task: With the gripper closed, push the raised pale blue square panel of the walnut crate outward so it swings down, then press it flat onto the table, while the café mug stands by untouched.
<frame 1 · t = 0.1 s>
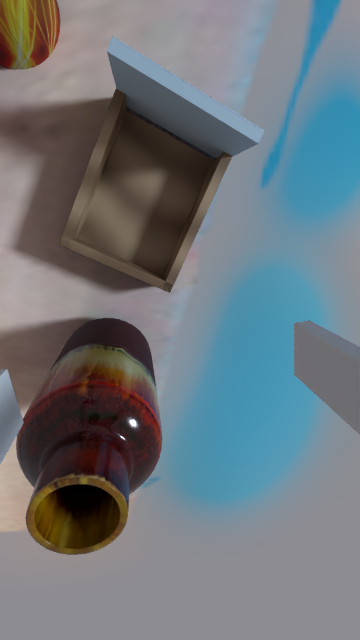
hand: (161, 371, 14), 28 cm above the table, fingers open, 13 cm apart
vase: (110, 349, 43), on the table
mug: (12, 39, 32), on the table
pale blue square panel: (181, 115, 30), point 7 cm above the table, hinge at 95.0°
crate: (143, 204, 38), on the table
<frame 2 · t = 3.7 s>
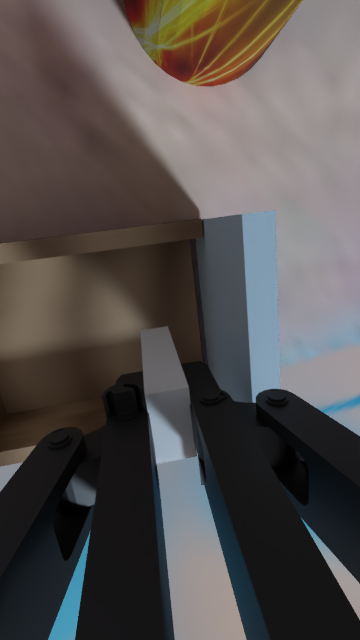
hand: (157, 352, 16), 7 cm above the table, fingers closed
mug: (173, 11, 19), on the table
pale blue square panel: (227, 340, 17), point 7 cm above the table, hinge at 94.0°, touching gripper
crate: (89, 325, 23), on the table
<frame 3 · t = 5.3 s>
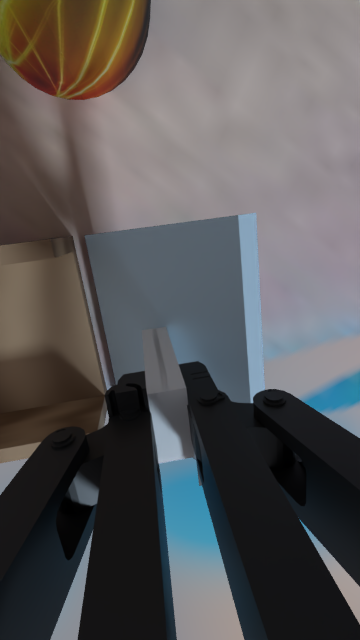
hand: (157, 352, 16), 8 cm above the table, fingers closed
mug: (36, 24, 18), on the table
pale blue square panel: (163, 344, 18), point 6 cm above the table, hinge at 56.5°, touching gripper
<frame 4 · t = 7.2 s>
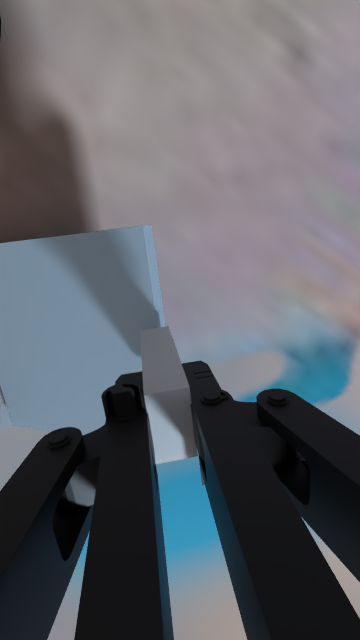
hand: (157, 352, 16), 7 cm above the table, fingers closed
pale blue square panel: (68, 344, 19), point 4 cm above the table, hinge at 27.5°, touching gripper
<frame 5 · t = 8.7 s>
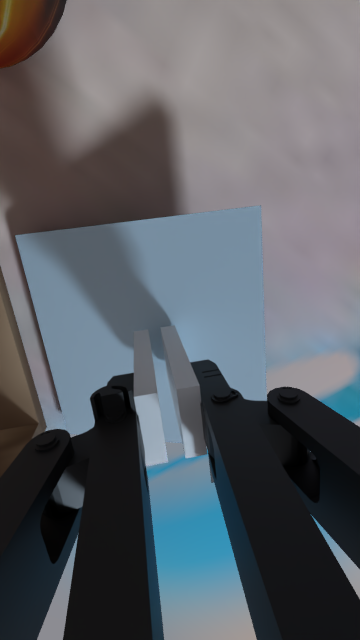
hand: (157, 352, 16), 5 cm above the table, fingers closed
pale blue square panel: (146, 340, 18), point 3 cm above the table, hinge at 22.0°, touching gripper
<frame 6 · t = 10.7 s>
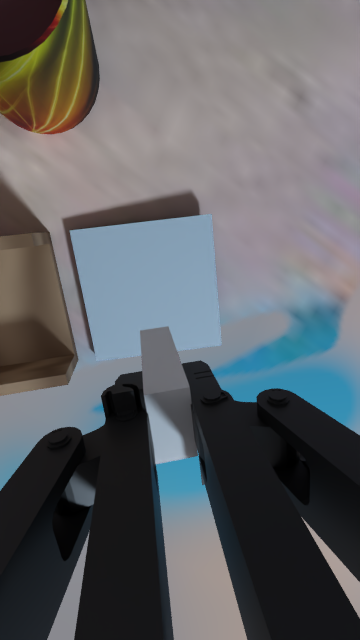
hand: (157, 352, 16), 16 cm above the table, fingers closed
mug: (17, 81, 26), on the table
pale blue square panel: (150, 290, 31), point 1 cm above the table, hinge at 5.0°
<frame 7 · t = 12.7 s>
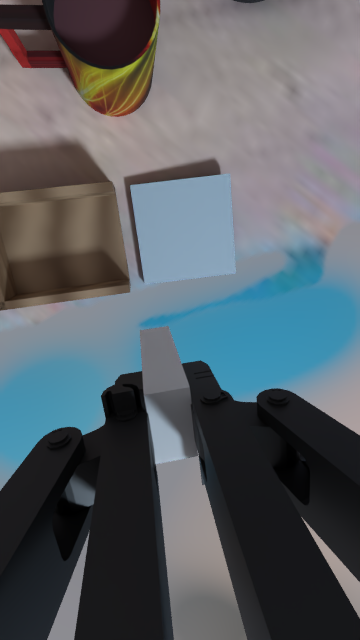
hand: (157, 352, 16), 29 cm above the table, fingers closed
mug: (96, 80, 37), on the table
pale blue square panel: (185, 231, 42), point 1 cm above the table, hinge at 5.0°
crate: (63, 245, 42), on the table
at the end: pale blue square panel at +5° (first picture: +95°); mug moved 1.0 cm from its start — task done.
